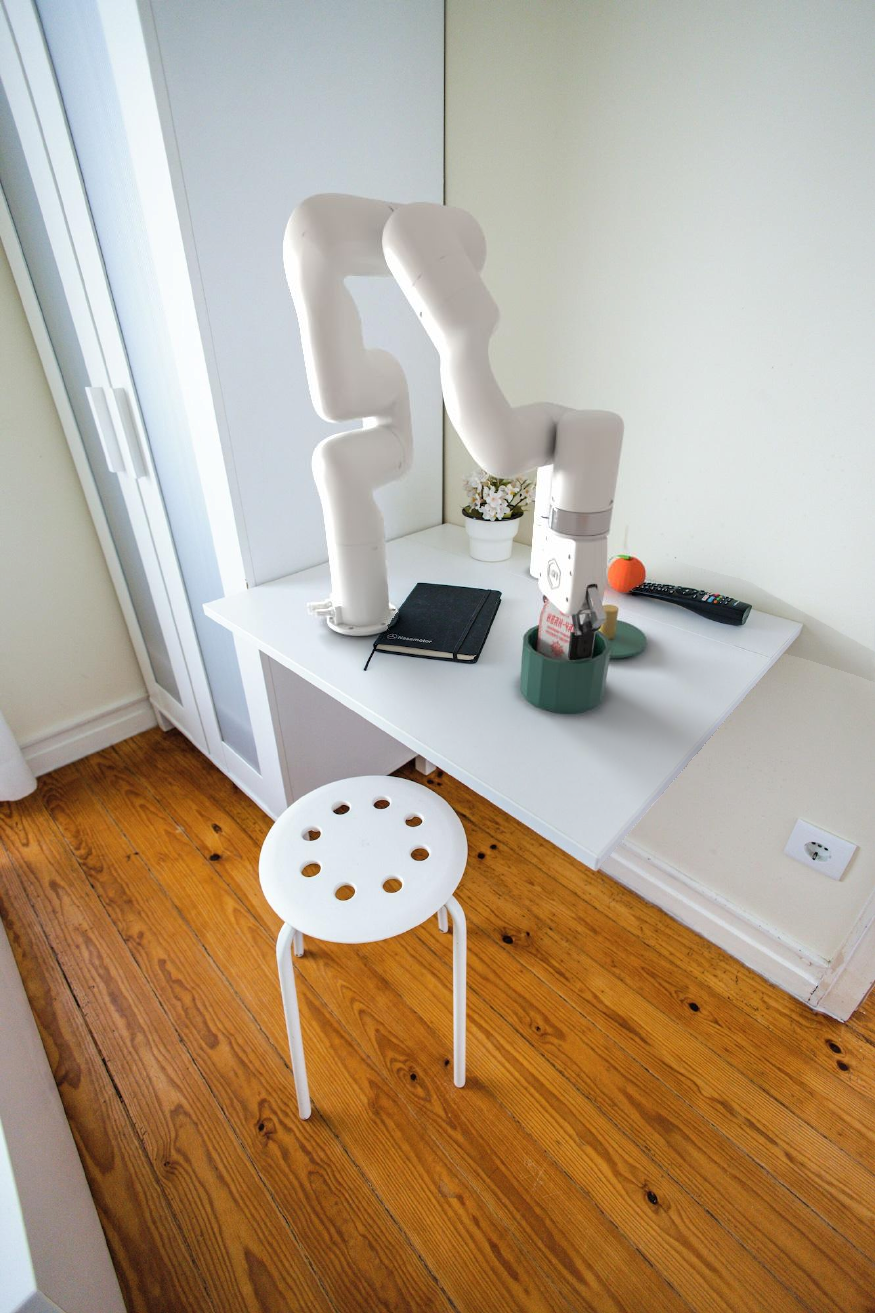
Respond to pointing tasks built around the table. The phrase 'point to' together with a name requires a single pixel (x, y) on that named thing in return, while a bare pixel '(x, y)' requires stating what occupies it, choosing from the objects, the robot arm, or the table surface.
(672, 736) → the table surface
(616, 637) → the tin lid
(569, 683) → the tin
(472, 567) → the table surface
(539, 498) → the cylindrical container
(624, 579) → the clementine
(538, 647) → the tea bag
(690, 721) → the table surface
